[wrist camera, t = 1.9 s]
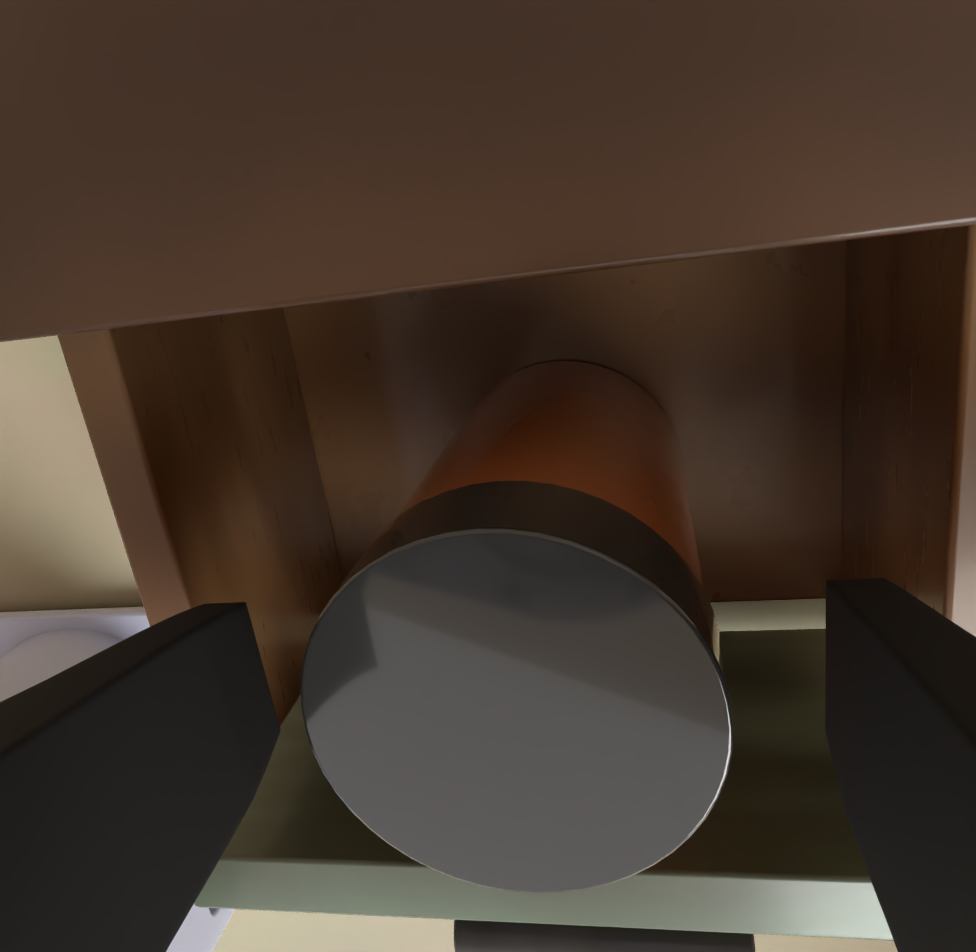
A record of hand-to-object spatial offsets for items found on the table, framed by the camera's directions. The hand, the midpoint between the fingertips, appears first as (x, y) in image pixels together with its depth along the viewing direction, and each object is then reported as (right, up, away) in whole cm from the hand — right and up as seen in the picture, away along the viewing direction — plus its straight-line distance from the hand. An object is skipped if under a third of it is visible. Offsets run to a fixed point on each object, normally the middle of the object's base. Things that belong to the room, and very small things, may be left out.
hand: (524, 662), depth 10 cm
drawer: (+1, +1, +8) cm, 8 cm away
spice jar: (+1, +2, +6) cm, 7 cm away
